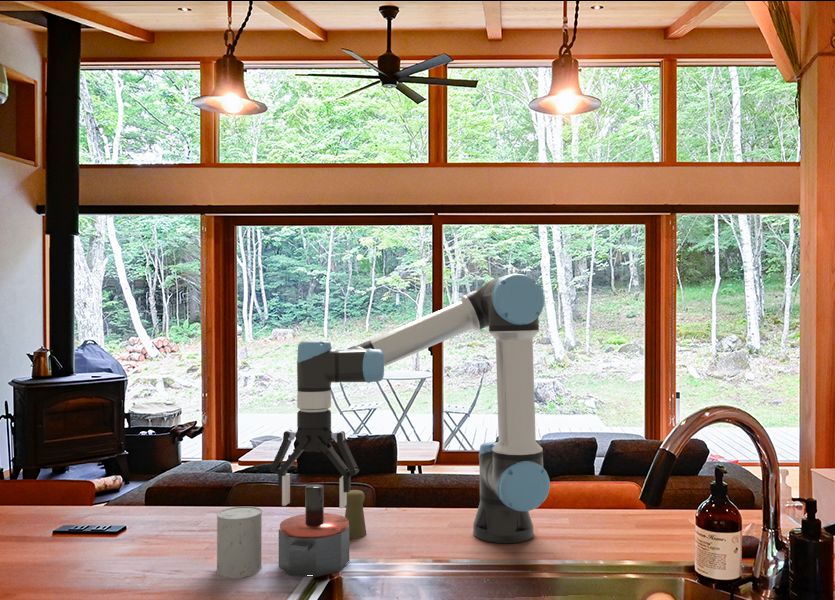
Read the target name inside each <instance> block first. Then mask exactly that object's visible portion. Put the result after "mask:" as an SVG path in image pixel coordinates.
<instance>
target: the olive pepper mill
mask: <svg viewBox="0 0 835 600" xmlns="http://www.w3.org/2000/svg"><path fill="white" fill-rule="evenodd" d="M365 499H366V498H365V493H364V492H363V491H362V490H358V489H352V490H351V489H350V491H349V492H347V505H346V506H345V512H344V517H346V518H347V519H348V520H349V539H353V540H354V539H361V538H364V537H366V536H367V528H366V519H365V513H364V505H363V504H364V502H365Z"/></svg>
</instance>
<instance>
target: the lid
mask: <svg viewBox="0 0 835 600" xmlns="http://www.w3.org/2000/svg"><path fill="white" fill-rule="evenodd" d="M304 488H305V494H304V495H305V505H304V506H305V508H304V509H305V513H303V514H297V515H293V516H290V517H287V518H285V519H284V520H282V521H281V522H280V523H279V529H280V532H281V533H282V534H284V535H286V536H289V537H293V538H302V539H314V538H324V537H330V536H334V535H338V534H340V533H342V532H344V531H346V530H347V529H348V527H349V520H348V519H347V518H346V517H345V515H341V514H336V513H331V512H330V513H329V512H327V513H325V512H324V510H325V507H324V503H325V501H324V497H325V496H324V488H325V487H324V485H323V484H309V485H306V486H305V487H304Z"/></svg>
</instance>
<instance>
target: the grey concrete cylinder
mask: <svg viewBox="0 0 835 600" xmlns="http://www.w3.org/2000/svg"><path fill="white" fill-rule="evenodd" d="M262 513H263V510H262V509H261V508H260V507H256V506H245V505H244V506H233V507H228V508H225V509H222V510H219V511H218V512H217V513H216V516H217V517H216V519H217V520H216V528H217V529H216V534H217V535H216V574H217V575H218V576H220V577H222V578H229V579H238V578H239V579H240V578H245V577H246V578H247V577H249V576H253V575H255V574H257V573H259V572H261V570H262V569H263V565H262V543H263V542H262V540H263V539H262V532H263V531H262V529H263V528H262V524H263V523H262V522H263V521H262V519H263V518H262V517H263V516H262Z"/></svg>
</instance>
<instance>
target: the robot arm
mask: <svg viewBox="0 0 835 600" xmlns="http://www.w3.org/2000/svg"><path fill="white" fill-rule="evenodd" d="M544 306H545V296H544V292H543V289H542V288H541V286H540V284H539V283H538V282H536V280H535V279H534V278H532V277H530V276H528V275H526V274H523V273H521V274H520V273H508V274H505V275H503V276H499V277H497V278H496V277H495V278H493V279H491V280H489V281H488V282H486V283H484V284H483V285H481V286H480V287H478V288H476V289H475V290H473V291H471V292H469V293H468V292H467V293H466V294H464V295H462V297H461V299H460V301H457V302H455V303H453V304H450V305H449V306H446V307H444V308H442V309H440V310H437V311H434V312H432V313H430V314H426V315H425V316H422V317H420V318H418V319H416V320H412V321H410V322H409V323H407V324H404V325H402V326H400V327H397V328H395V329H392V330H390V331H388V332H386V333H382V334H381V335H378V336H376V337H373V338H371V339H369V340H367V341H364V342H362V343H359V344H357V345H356V346H355V345H354V346H353V345H352V346H351V347H348V348H345V349H335V348H332V344H331V342H330V340H329V341H328V340H303V341H301V342H299V344H298V345H297V358H296V376H297V377H296V378H297V379H296V381H297V383H296V385H297V395H296V396H297V397H296V406H297V407H296V408H297V409H298V411H297V414H296V415H297V417H296V421H297V423H296V425H297V426H296V427H297V428H296V429H297V430H296V431H293V430H292V429H288V430H285V431H284V432H283V435H282V442H281V444H280V446H279V449H278V450H277V453H276V455H275V457H274V460H273V462H272V464H271V465H270V468H269V471H270V472H271V473H275V474H276V475H277V476H278V478H277V479H278V481H277V483H278V485H277V486H278V490H281V506H284V507H285V506H287V505H288V504H291V474H290V473H288V470H290V468H291V467H292V466H293V464H294V463H295V462H296V460H297V459H298V458H299V457H300V456H301V454H302V453H303V452H304V451H305V453H309V452H314V453H321V452H323V454H324V455H326V457H328V459H329V460H330V462H331V463H332V464H333V465H334V467H335V469H337V471H338V472H339V474H340V475H341V477H339V509H344V508H346V505H347V492H349V491H350V490H351V489H352V484H351V482H352V480H351V478H352V477H353V476H355V475H357V474H358V473H359V472H360V469H359V466H358V464H357V462H356V460H355V458H354V456H353V454H352V451H351V450H350V447H349V444H348V442H347V441H346V440H347V439H346V432H345V431H344V430H342V431H339V432H332V411H331V410H330V408H331V407H332V383H368V384H369V383H375V382H377V383H378V382H381V381H382V380H384V377H385V367H387V366H388V365H389V366H390V365H391V364H393V363H394V364H395V363H396V362H399V361H400V360H403V359H405V358H407V357H410V356H412V355H414V354H417V353H419V352H421V351H424V350H426V349H428V348H431V347H433V346H436V345H437V344H439V343H442V342H445V341H447V340H449V339H451V338H454V337H456V336H459V335H460V334H463V333H465V332H468V331H470V330H475V331H480V330H482V329H485V328H487V327H488V333H489V334H490V335H491V336H492V337H493V338H494V339H495V359H496V360H495V361H496V362H495V363H496V365H495V366H496V389H497V390H496V394H497V397H496V398H497V423H498V424H497V425H498V427H497V428H498V431H497V432H498V441H496V442H495V441H494V442H483V443H482V444H480V445H479V446H480V447H479V453H478V459H479V463H478V464H479V505H478V508H477V511H476V514H475V518H474V521H473V526H472V528H473V529H472V533H473V535H474V537H476V538H478V539H480V540H482V541H485V542H489V543H496V544H517V543H518V544H519V543H523V542H526V541H529V540H532V539H533V538H534V535H535V534H534V533H535V532H534V531H535V530H534V524H533V521H532V517H531V514H530V512H529V511H533V510H535V509H537V508H539V507H540V506H541V505H542V504H543V503H544V502H545V500H546V499H547V498H548V495H549V492H550V489H551V484H550V483H551V482H550V481H551V479H550V477H549V474H548V472H547V470H546V469H545V468H544V455H543V453H544V451H543V447H542V446H541V445H540V444H539V443H538V442H537V437H536V409H535V408H536V407H535V379H534V378H535V377H534V376H535V374H534V345H533V343H534V342H533V340H534V337H535V336H536V335H537V334H538V333H539V332H540V327H539V326H540V325H539V324H540V323H539V321H540V320H539V317H540V315H541V314H542V311H543V309H544ZM295 439H296V440H297V442H298V443H299V444H298V445H297V446H296V447H295V449H294V451H293V452H292V453H291V454H290V456H289V457H288V458H287V459H286V461H285V462H283V461H284V459H285V457H286V455H287V453H288V450H289V448H290V446H291V444H292V441H294V440H295ZM332 440H334V441H335V443H336V444H337V446H338V448H339V451H340V453H341V455H342V457H343V460H342V458H341V457H340V455H339V454H338V453H337V451H336V450H335V449H334V448H335V447H333V445H332V444H331V441H332ZM282 463H283V464H282Z"/></svg>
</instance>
